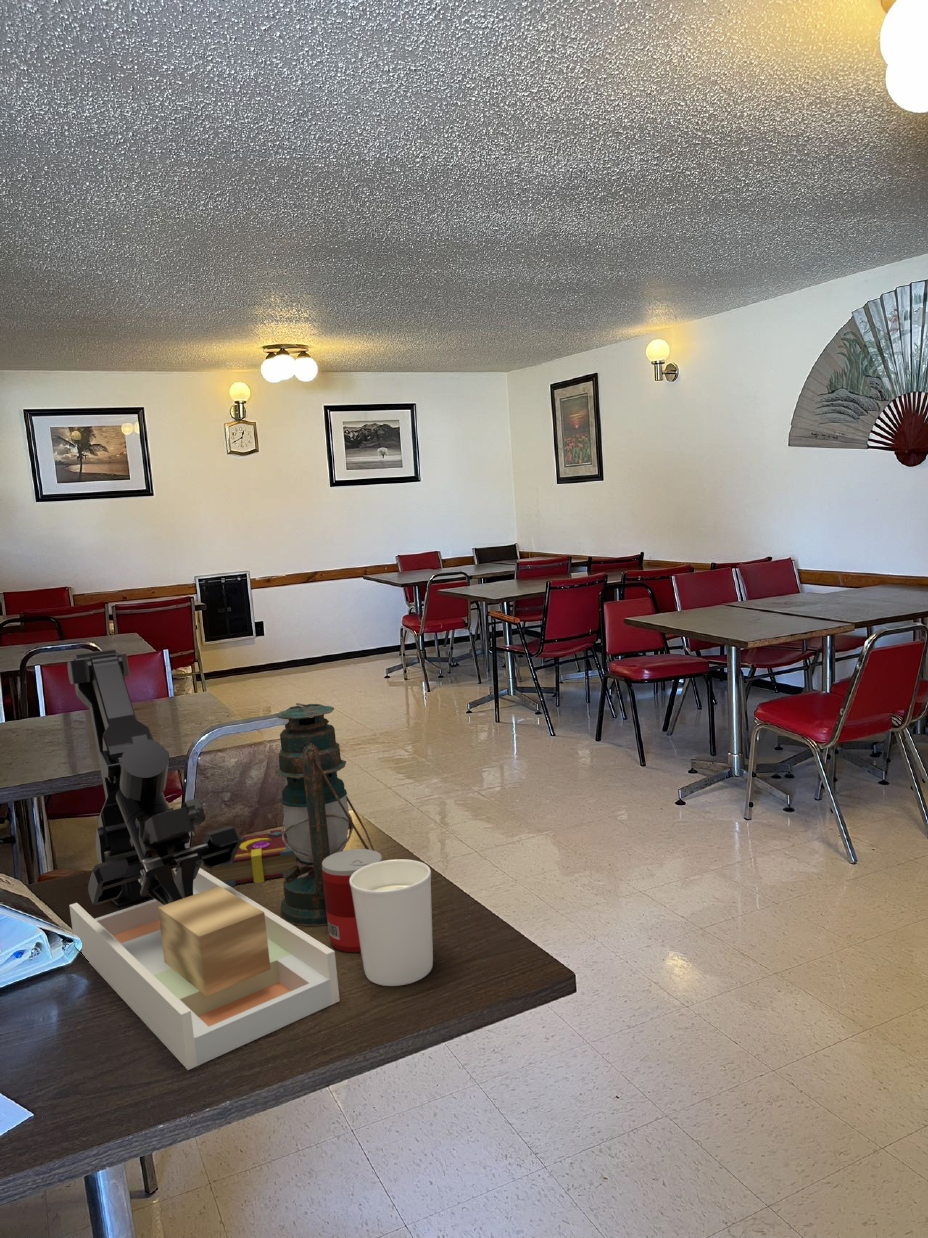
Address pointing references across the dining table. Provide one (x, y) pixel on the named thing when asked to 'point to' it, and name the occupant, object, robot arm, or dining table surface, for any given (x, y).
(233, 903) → the wooden block
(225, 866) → the decorative book
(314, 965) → the tray
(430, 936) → the candle holder
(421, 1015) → the dining table surface
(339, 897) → the canned food
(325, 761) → the lantern
